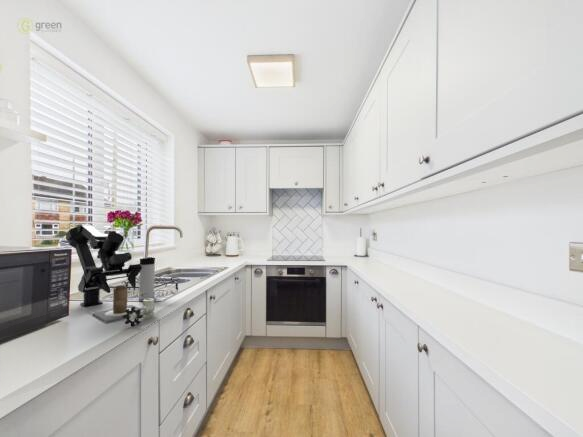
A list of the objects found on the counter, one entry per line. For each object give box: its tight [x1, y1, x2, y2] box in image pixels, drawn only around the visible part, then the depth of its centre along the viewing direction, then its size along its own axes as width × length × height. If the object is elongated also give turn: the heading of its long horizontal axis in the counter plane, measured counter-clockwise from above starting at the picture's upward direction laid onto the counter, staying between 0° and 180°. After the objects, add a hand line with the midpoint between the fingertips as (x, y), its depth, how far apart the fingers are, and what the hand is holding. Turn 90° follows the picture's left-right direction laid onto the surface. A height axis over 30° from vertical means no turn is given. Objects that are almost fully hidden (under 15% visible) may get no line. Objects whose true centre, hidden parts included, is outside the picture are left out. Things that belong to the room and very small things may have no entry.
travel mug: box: [138, 256, 156, 302], centre depth 126 cm, size 6×7×20 cm
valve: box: [123, 298, 156, 327], centre depth 98 cm, size 7×7×12 cm
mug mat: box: [91, 304, 141, 324], centre depth 105 cm, size 14×14×1 cm
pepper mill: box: [112, 284, 129, 314], centre depth 105 cm, size 5×5×10 cm
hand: (122, 290), depth 104 cm, fingers open, 9 cm apart
